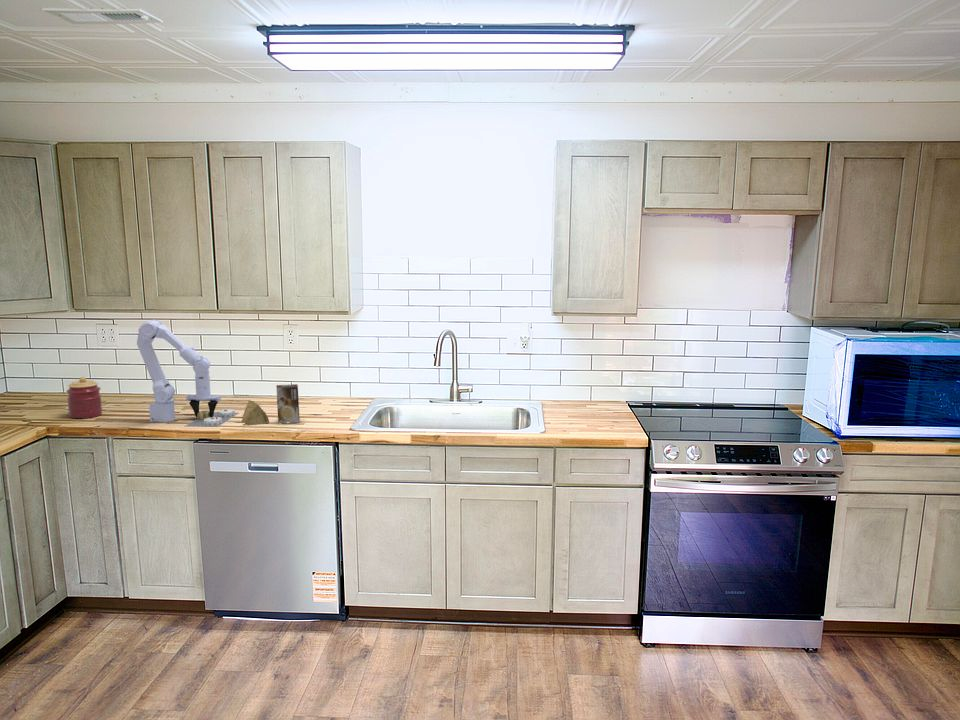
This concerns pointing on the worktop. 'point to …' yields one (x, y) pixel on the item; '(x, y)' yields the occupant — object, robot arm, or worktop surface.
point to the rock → (254, 414)
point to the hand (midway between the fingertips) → (204, 416)
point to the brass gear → (203, 415)
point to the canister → (84, 399)
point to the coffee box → (288, 403)
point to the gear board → (196, 422)
